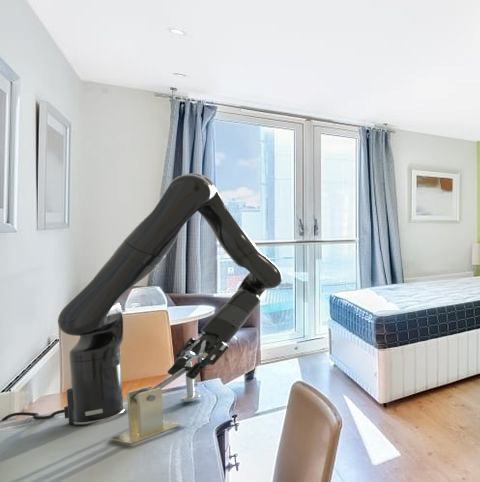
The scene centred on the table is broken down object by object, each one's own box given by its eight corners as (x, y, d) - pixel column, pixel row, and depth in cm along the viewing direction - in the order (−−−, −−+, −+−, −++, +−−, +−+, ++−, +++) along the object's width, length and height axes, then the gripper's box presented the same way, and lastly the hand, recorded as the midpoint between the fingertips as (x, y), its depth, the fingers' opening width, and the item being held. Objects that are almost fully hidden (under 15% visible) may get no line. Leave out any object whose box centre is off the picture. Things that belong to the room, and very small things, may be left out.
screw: (199, 398, 131) (203, 403, 128) (178, 404, 127) (181, 408, 124) (197, 357, 130) (201, 360, 127) (175, 361, 126) (179, 364, 123)
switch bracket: (161, 424, 114) (159, 381, 114) (181, 428, 112) (178, 384, 111) (110, 442, 105) (107, 395, 104) (130, 448, 102) (127, 399, 102)
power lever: (185, 369, 118) (180, 362, 117) (197, 371, 116) (192, 364, 115) (135, 403, 108) (129, 396, 107) (147, 406, 106) (141, 399, 105)
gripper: (198, 314, 125) (150, 367, 114) (232, 317, 120) (185, 372, 110) (220, 328, 130) (175, 379, 120) (253, 331, 125) (209, 385, 115)
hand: (180, 376), depth 115 cm, fingers open, 7 cm apart
